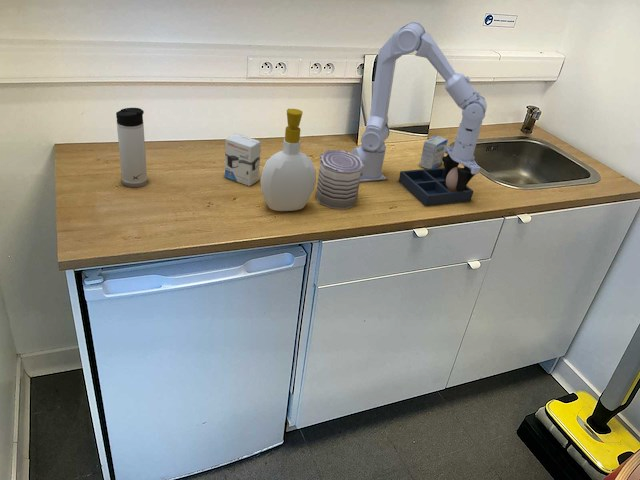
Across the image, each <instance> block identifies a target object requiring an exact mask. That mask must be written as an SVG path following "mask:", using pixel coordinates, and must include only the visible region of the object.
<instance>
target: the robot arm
mask: <svg viewBox="0 0 640 480" xmlns="http://www.w3.org/2000/svg"><path fill="white" fill-rule="evenodd" d="M415 51H416V52H415ZM414 52H415V54H414V56H416V57H418V58H419V57H420V58H424V59H426V60H428V62H429V63H430V64H431V66H432V67H433V68H434V69H435V70H436V72H437V73H438V74H439V75H440V76H441V78H442V79H443V80H444V82H445V85H444V89H445V91H446V92H447V93H448V95H449V96H450V97H451V99H452V101H454V103H455V104H456V105H457V107H458V108H460V110H461V116H462V117H461V120H460V123H459V125H458V129H457V132H456V136H455V140H454V144H453V146H452V145H447V146H445V147H444V151H443V152H444V153H445V154H446V155H444V157H442V160H443V162H442V164H443V168H444V170H445V181H446V177H447V175H448V173H449V172H450V171H451V170H452V169H453V168H455V167H459V165H462V166H463V167H460V168H457V171H458V181H457V186H456V191H463V190H464V188H465V187H466V185H467V186H468V184H469V182H470V181H471V180H472V179H473V178H474V177H475V176H476V175H478V174H480V171H481V166H479V165H478V163H477V162H476V160H475V158H476V156H475V155H474V154H475V150H476V146H477V144H478V141H479V136H480V134H481V130H482V125H483V120H484V119H485V117H486V112H487V108H488V103H487V101H486V98H485V97H483V96H482V94H481V93H480V92H477V90H476V89H475V88H474V87H473V85H472V84H471V83H470V81H471V78H470V76H465V75H464V73H459V72H456V71H455V69H454V68H453V66H452V65H451V63H450V62H449V60H448V59H447V57H446V56H445V54H444V53H443V51H442V49H441V48H440V47H439V46H438V44H437V42H436V41H435V39H434V38H433V37H432V35H431V33H429V32H428V31H426V29H425V27H424V26H423V25H422V24H421V23H420V22H417V21H411V22H409V23H406V24H405V25H403V26H402V27H400V28H399V29H398V30H397V31H395V32H394V33H393V34H391V36H390V37H389V38H388V40H386V42H385V43H384V44H383V45H382V46H381V47H380V49H379V51H378V55H377V61H376V68H375V75H374V82H373V83H374V84H373V89H372V90H373V91H372V97H371V104H370V111H369V117H368V120H367V122H366V125H365V130H364V132H363V133H362V135H361V137H360V143H361V144H360V145H359V146H358V147H354V148H352V149H351V151H350V153H351V154H354V155H356V156H358V157H359V158H360V159H361V161H362V162H363V164H364V166H363V167H362V172H361V178H360V183H362V182H372V181H373V182H374V181H383V180H387V177H386V176H385V175H384V174H383V173H382V171H383V165H384V161H385V155H386V150H387V147H386V143H385V141H386V140H387V139H388V138H389V136H390V131H391V130H390V126H389V109H390V101H391V96H392V89H393V83H394V75H395V70H396V63H397V61H398V59H400V58H401V57H402V56H405V55H409V54H412V53H414Z"/></svg>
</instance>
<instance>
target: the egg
mask: <svg viewBox="0 0 640 480" xmlns="http://www.w3.org/2000/svg"><path fill="white" fill-rule="evenodd" d="M457 168H461V167H460V166H458V167H455V168H453V169H452V170H451V171H450V172H449V173H448V175H447V177H446V186H447V188H448V189H449V190H450V191H453V192H454V191H456V186H457V181H458V171H457Z"/></svg>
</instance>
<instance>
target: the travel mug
mask: <svg viewBox="0 0 640 480" xmlns="http://www.w3.org/2000/svg"><path fill="white" fill-rule="evenodd" d="M144 113H145V112H144V110H143V109H142V108H139V107H126V108H122V109H120V110H118V111H116V113H115V114H116V116H115V117H116V129H117V130H116V131H117V139H118V151H119V161H120V173H121V182H122V184H123V185H124V186H125V187H128V188H141V187H143V186H145V185H147V183H148V174H147V173H148V172H147V171H148V170H147V156H146V144H145V143H146V142H145V140H146V139H145V127H144V116H143V115H144Z"/></svg>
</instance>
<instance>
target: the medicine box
mask: <svg viewBox="0 0 640 480" xmlns="http://www.w3.org/2000/svg"><path fill="white" fill-rule="evenodd" d="M448 141H449V140H448V138H445V137H444V136H440V135H434V136H432V137H430V138H429V139H427V140H425V141H424V143H423V147H422V151H421V156H420V161H419V167H421V168H422V169H433V168H438V167H440V165H442V164H443V160H442V157H444V156H445V154H446V153H444V152H443V151H444V147H445V146H448Z"/></svg>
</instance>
